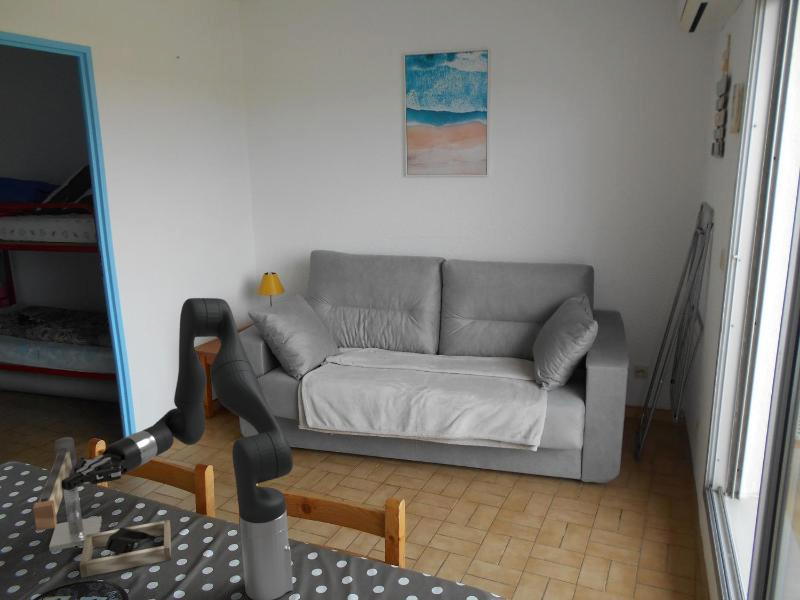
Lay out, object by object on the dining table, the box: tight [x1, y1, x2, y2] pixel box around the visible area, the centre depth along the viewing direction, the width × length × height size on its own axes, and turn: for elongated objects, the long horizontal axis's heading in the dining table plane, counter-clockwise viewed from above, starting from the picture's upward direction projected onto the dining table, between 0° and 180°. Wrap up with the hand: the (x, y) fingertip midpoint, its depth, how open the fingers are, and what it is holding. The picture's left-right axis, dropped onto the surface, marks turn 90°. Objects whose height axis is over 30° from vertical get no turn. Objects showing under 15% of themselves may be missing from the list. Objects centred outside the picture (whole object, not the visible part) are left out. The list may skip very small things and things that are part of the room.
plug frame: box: [79, 519, 172, 578], centre depth 146 cm, size 18×12×3 cm, turn 109°
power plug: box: [104, 527, 156, 556], centre depth 146 cm, size 6×8×12 cm
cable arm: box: [32, 436, 78, 532], centre depth 138 cm, size 30×4×8 cm, turn 19°
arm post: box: [48, 486, 103, 552], centre depth 152 cm, size 10×10×16 cm
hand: (64, 485), depth 136 cm, fingers closed
